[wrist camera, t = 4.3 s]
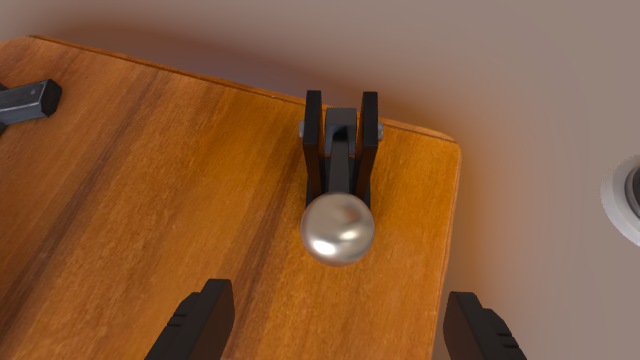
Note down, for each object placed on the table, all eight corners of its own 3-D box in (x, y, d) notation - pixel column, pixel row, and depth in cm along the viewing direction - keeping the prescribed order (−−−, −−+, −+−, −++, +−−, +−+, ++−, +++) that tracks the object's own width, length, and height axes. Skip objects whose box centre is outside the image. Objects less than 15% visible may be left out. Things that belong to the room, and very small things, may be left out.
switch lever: (373, 284, 15) (381, 230, 13) (297, 280, 15) (293, 227, 13) (362, 143, 26) (366, 100, 24) (317, 142, 26) (317, 99, 24)
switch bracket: (369, 237, 34) (395, 178, 20) (304, 234, 35) (283, 174, 20) (369, 162, 38) (390, 66, 24) (310, 160, 38) (295, 64, 24)
